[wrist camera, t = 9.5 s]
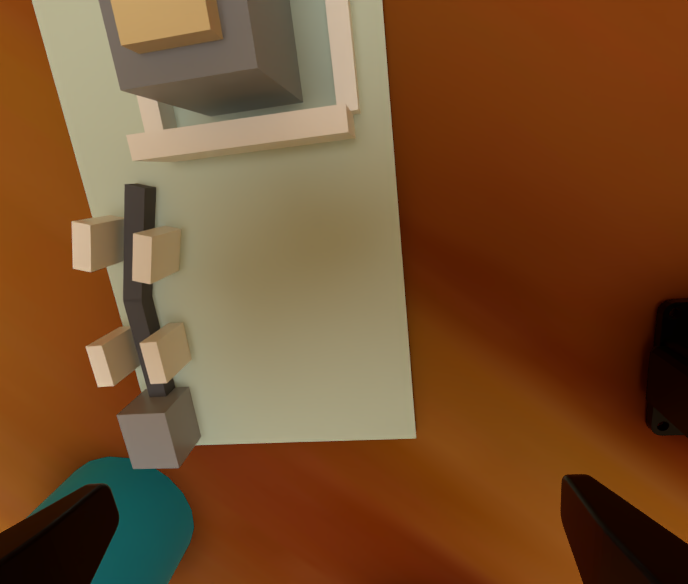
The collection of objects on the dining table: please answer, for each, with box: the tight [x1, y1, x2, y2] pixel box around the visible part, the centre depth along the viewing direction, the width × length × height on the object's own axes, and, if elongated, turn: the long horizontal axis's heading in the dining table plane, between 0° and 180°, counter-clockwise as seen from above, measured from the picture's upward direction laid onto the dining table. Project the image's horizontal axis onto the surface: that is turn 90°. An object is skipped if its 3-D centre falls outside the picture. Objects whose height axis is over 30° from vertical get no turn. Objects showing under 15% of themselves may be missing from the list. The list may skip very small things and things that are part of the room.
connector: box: [98, 0, 303, 116], centre depth 13 cm, size 4×4×7 cm
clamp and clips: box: [72, 215, 201, 469], centre depth 19 cm, size 4×12×2 cm, turn 7°
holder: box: [126, 0, 361, 162], centre depth 15 cm, size 9×7×3 cm
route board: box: [32, 0, 416, 445], centre depth 19 cm, size 14×23×1 cm, turn 7°
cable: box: [123, 183, 175, 397], centre depth 19 cm, size 2×10×1 cm, turn 7°
